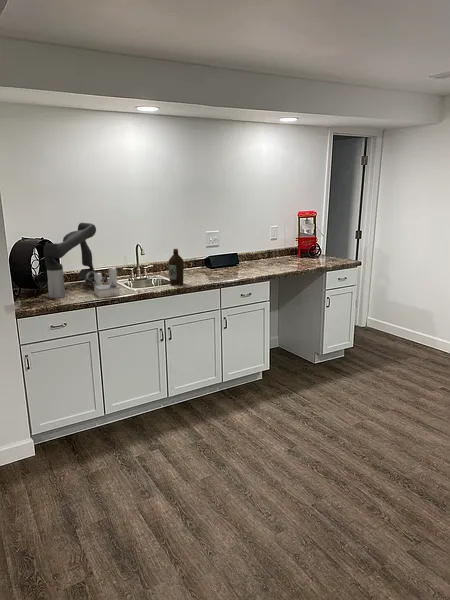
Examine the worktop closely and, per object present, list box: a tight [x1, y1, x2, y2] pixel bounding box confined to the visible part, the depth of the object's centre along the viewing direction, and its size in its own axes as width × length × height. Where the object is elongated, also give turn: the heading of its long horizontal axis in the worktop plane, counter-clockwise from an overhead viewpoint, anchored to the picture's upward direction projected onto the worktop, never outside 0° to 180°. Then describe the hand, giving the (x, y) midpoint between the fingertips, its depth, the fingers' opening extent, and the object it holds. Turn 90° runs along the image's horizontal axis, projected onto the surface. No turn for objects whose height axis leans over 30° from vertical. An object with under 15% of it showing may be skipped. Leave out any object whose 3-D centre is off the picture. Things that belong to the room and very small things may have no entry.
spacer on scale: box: [108, 267, 118, 288], centre depth 287 cm, size 5×5×12 cm
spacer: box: [94, 272, 103, 286], centre depth 298 cm, size 5×5×12 cm
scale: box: [93, 283, 121, 298], centre depth 290 cm, size 13×12×5 cm
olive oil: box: [167, 248, 185, 286], centre depth 316 cm, size 11×11×25 cm
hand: (98, 281), depth 296 cm, fingers open, 8 cm apart
